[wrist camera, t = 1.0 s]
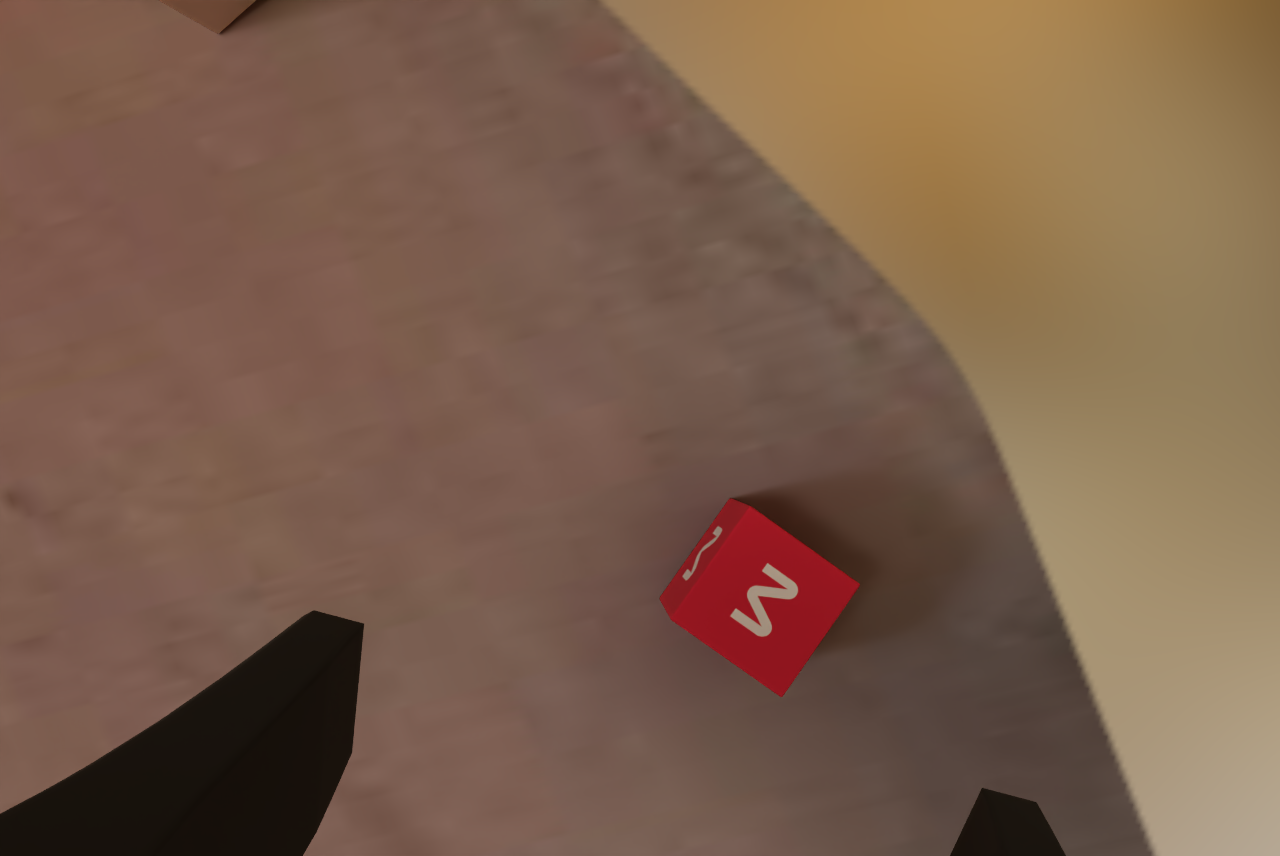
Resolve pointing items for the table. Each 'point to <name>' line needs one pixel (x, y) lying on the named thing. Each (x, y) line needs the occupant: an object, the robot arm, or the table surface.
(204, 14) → the figurine
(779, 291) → the table surface
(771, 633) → the red letter cube
